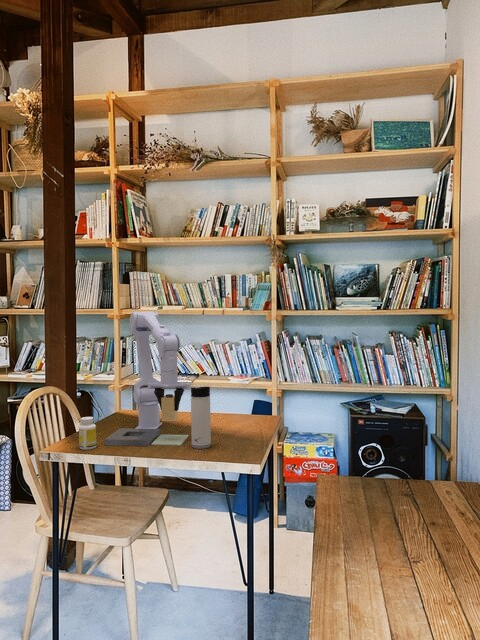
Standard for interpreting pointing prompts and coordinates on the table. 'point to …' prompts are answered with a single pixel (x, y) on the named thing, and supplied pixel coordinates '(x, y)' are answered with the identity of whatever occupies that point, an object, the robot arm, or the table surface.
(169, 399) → the end cover
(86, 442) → the supplement bottle
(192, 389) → the travel mug
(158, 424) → the robot arm
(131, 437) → the square plate with hole
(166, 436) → the mat
